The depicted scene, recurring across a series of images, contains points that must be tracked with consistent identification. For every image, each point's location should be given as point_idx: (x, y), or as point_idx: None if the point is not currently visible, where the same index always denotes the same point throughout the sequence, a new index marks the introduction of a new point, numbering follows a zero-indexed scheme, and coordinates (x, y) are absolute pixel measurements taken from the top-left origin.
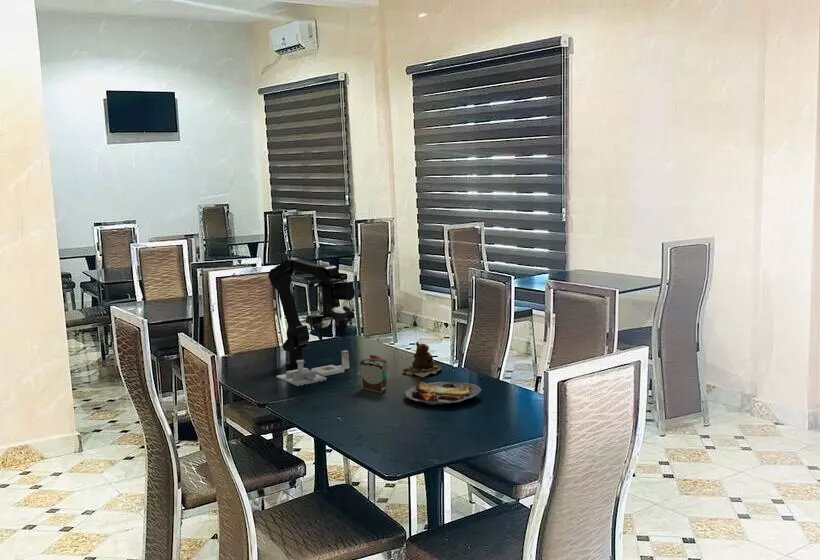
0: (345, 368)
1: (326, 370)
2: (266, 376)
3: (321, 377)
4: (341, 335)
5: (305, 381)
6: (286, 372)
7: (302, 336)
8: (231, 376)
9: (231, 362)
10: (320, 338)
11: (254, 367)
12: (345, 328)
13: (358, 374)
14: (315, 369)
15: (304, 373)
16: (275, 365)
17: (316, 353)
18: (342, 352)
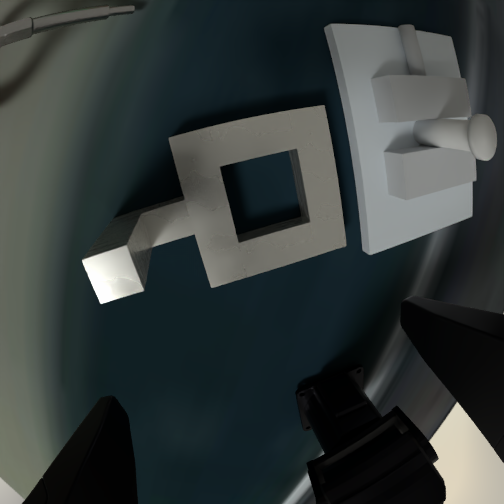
0: (139, 210)
1: (258, 230)
2: (468, 264)
3: (352, 45)
4: (115, 421)
5: (424, 39)
6: (473, 174)
7: (392, 471)
8: (501, 306)
9: None
10: (442, 305)
11: (429, 389)
12: (37, 484)
13: (129, 6)
14: (336, 214)
15: (438, 79)
16: (381, 402)
17: (204, 493)
18: (138, 269)
